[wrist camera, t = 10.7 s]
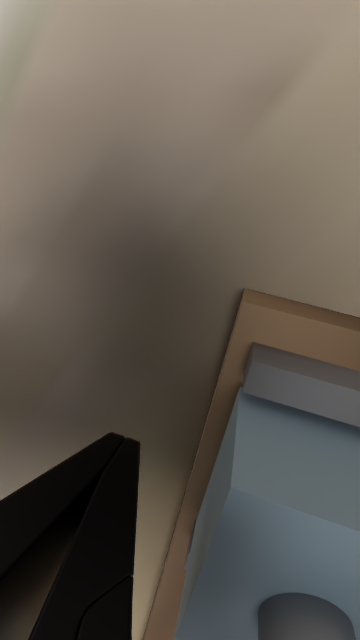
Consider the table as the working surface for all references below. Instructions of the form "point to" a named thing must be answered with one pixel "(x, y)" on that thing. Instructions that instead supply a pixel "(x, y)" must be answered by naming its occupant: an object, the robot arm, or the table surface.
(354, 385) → the board
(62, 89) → the table surface
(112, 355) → the table surface
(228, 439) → the latch
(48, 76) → the table surface
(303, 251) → the table surface
